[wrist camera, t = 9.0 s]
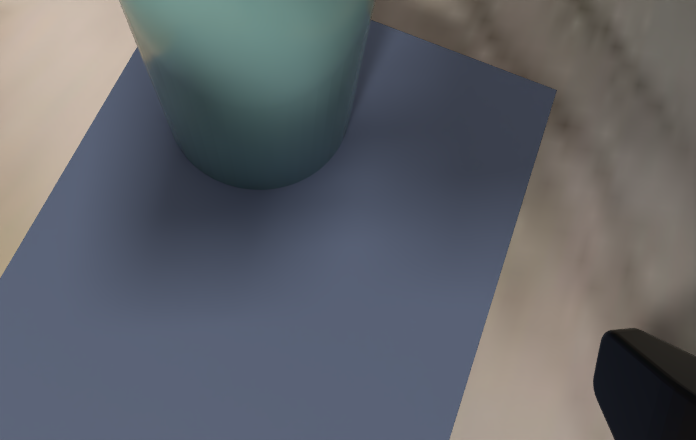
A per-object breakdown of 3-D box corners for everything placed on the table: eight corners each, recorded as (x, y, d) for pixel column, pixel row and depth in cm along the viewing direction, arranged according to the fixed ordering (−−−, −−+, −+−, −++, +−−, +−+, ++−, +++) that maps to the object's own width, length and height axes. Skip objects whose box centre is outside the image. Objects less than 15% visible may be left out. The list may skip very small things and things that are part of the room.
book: (518, 139, 22) (556, 90, 19) (360, 629, 17) (376, 675, 14) (206, 19, 23) (193, -48, 20) (-39, 461, 18) (-113, 469, 14)
